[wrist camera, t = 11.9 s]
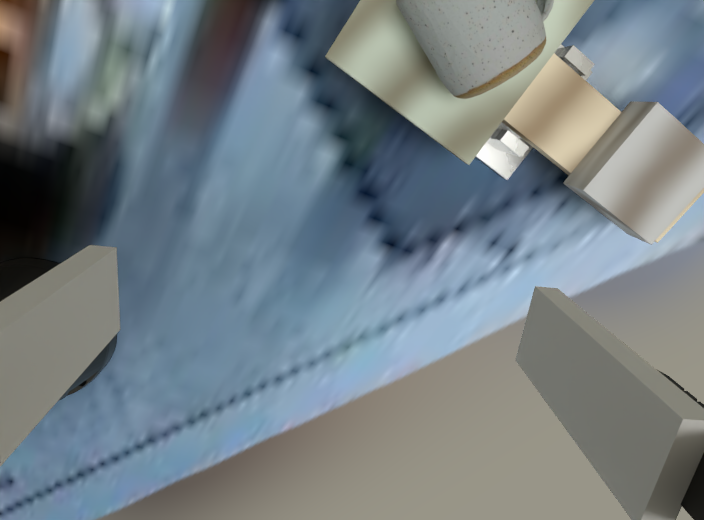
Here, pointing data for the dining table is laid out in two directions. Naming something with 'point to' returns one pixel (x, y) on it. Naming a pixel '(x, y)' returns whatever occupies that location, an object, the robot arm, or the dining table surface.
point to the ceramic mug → (477, 39)
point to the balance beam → (537, 118)
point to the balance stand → (508, 146)
